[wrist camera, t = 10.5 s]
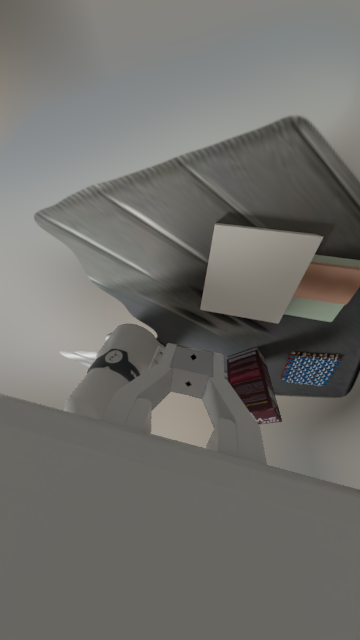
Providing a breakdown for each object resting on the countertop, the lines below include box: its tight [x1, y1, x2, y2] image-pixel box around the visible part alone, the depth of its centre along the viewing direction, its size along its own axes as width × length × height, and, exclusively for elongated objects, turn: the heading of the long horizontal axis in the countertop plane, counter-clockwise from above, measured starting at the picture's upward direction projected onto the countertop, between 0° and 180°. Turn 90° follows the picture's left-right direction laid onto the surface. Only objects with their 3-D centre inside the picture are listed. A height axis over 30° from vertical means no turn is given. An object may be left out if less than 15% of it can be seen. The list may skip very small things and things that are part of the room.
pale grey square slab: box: [200, 223, 323, 324], centre depth 32 cm, size 16×16×3 cm
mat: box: [284, 255, 360, 322], centre depth 32 cm, size 12×10×1 cm
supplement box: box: [227, 347, 282, 424], centre depth 39 cm, size 9×5×16 cm, turn 127°
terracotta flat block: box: [293, 261, 360, 305], centre depth 30 cm, size 6×9×2 cm, turn 85°
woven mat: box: [281, 352, 341, 386], centre depth 42 cm, size 10×11×2 cm
